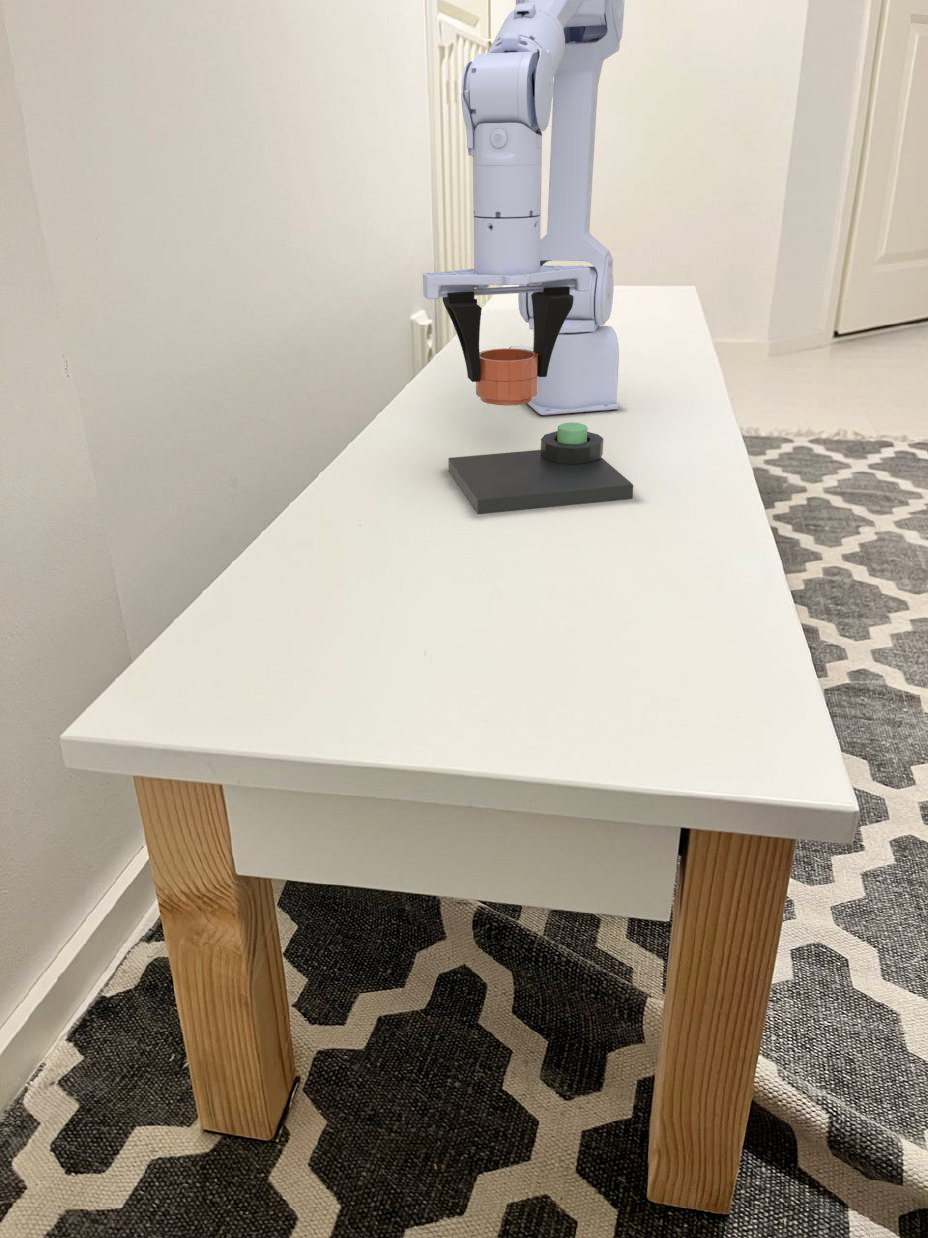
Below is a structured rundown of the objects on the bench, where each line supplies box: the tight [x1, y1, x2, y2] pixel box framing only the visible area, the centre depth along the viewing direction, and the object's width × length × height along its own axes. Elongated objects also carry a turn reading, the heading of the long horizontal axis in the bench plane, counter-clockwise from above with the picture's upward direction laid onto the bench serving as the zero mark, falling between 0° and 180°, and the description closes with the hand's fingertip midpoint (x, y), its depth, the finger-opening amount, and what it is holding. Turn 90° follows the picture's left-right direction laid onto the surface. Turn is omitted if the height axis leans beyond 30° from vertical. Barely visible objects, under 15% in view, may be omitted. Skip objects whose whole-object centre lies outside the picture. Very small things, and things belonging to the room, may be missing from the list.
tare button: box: [557, 422, 588, 444], centre depth 92 cm, size 3×3×2 cm
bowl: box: [475, 347, 539, 407], centre depth 88 cm, size 6×6×4 cm
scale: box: [447, 430, 634, 515], centre depth 89 cm, size 14×12×3 cm
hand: (506, 377), depth 88 cm, fingers closed on bowl, 5 cm apart
